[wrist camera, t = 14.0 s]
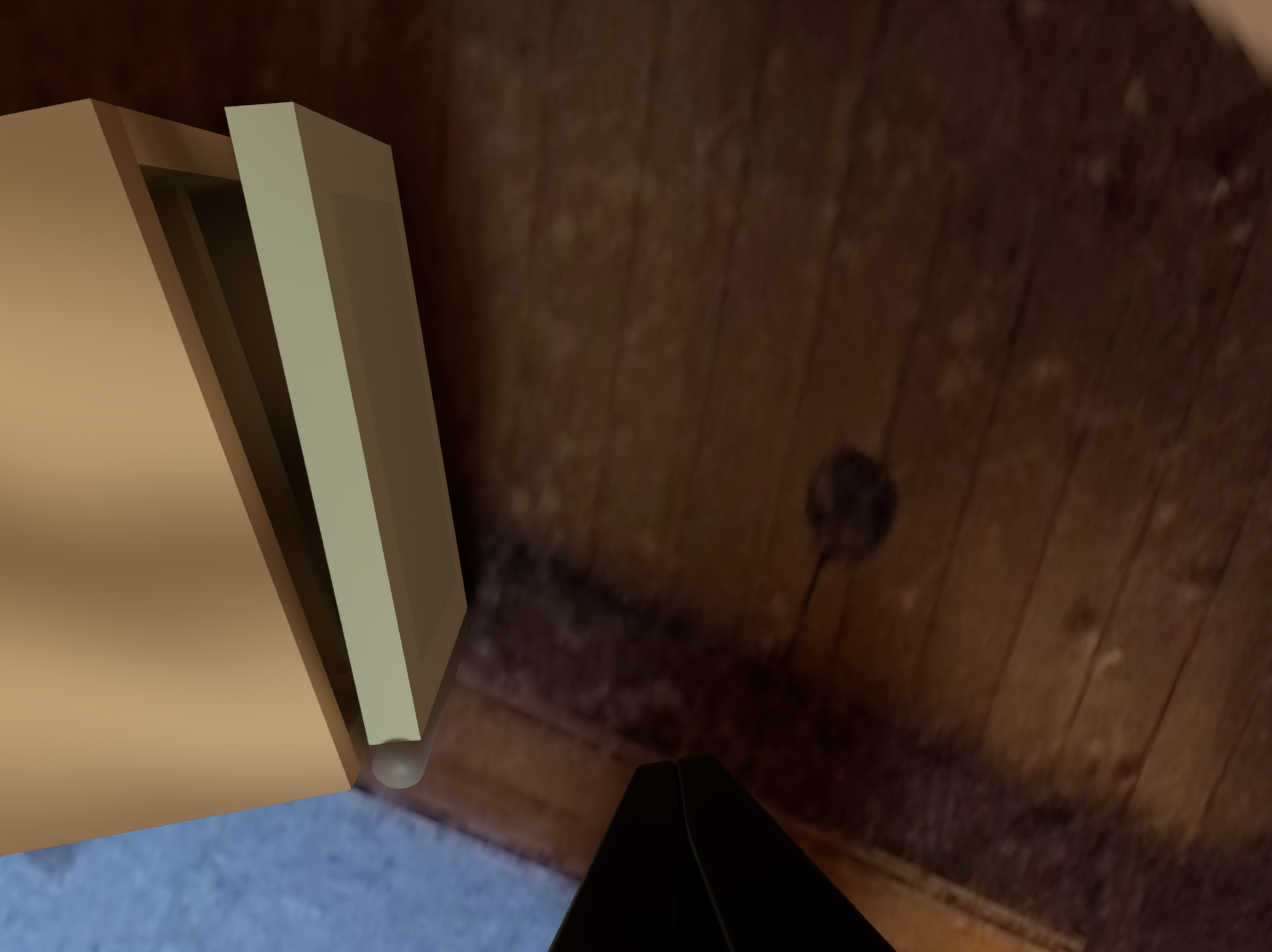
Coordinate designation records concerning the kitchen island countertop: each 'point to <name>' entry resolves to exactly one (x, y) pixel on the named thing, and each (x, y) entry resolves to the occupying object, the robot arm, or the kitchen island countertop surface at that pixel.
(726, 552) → the kitchen island countertop surface
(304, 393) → the door
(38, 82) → the kitchen island countertop surface
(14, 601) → the cabinet
